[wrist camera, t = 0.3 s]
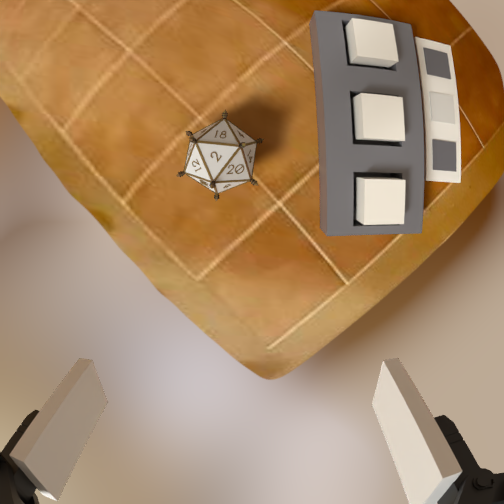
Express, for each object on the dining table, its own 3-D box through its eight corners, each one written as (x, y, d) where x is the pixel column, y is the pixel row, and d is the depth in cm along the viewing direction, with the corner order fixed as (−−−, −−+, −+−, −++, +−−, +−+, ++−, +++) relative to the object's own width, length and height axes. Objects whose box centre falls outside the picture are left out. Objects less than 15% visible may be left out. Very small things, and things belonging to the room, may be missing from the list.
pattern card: (414, 37, 29) (415, 36, 29) (449, 46, 29) (451, 45, 29) (425, 180, 35) (427, 180, 35) (459, 182, 35) (461, 183, 35)
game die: (238, 145, 38) (288, 120, 30) (228, 209, 38) (279, 199, 29) (173, 124, 34) (210, 87, 25) (158, 193, 33) (192, 174, 25)
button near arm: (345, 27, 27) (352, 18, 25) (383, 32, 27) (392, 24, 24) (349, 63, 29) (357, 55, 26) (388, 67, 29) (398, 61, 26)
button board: (309, 23, 30) (314, 10, 26) (398, 34, 30) (410, 24, 26) (320, 227, 38) (326, 236, 34) (407, 225, 37) (421, 233, 33)
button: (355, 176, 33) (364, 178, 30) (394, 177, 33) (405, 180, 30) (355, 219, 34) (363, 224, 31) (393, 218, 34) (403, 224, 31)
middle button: (352, 97, 30) (361, 92, 27) (391, 101, 30) (402, 97, 27) (355, 139, 31) (363, 138, 29) (393, 141, 31) (405, 140, 28)
